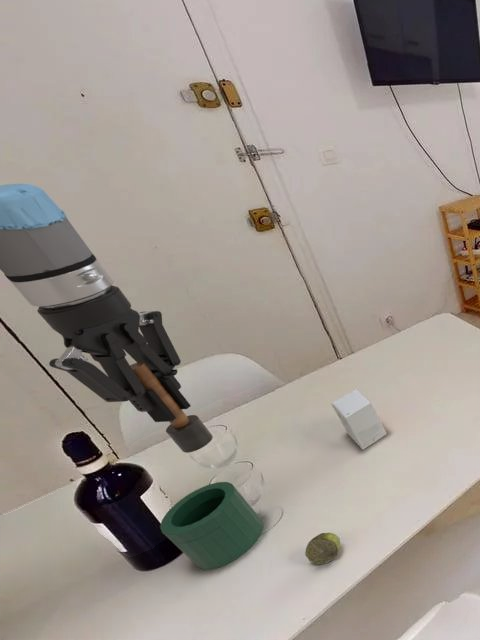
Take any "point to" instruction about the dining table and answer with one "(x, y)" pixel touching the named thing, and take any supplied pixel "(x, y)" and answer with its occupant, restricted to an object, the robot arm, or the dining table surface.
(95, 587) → the dining table surface
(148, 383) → the brown and grey pestle
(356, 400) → the small box
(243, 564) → the dining table surface
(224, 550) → the green tube ring
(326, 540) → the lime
